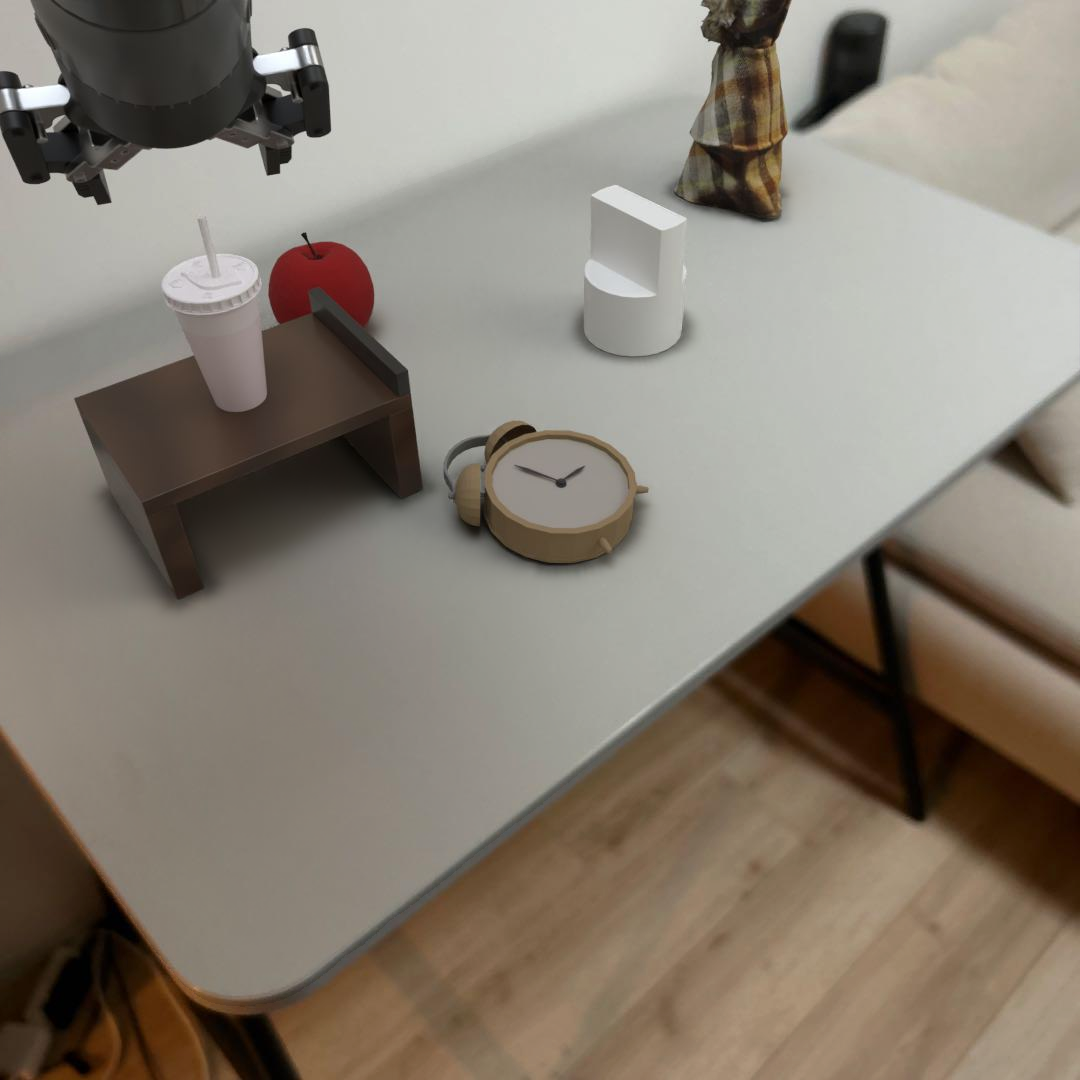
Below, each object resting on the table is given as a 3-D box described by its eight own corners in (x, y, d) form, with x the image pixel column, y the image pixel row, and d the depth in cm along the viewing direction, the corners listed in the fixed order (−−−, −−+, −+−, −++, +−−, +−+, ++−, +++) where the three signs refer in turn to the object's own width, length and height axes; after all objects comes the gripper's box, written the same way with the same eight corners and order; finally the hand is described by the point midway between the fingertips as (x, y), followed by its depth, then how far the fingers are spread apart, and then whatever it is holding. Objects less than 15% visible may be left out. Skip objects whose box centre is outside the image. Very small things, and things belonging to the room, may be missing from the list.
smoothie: (256, 431, 75) (209, 247, 65) (177, 413, 76) (120, 231, 67) (302, 379, 79) (264, 200, 69) (226, 363, 81) (179, 186, 71)
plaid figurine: (653, 215, 113) (728, -44, 97) (643, 161, 123) (709, -81, 107) (780, 240, 115) (875, -10, 99) (760, 185, 125) (843, -50, 109)
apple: (287, 371, 96) (265, 270, 89) (271, 319, 102) (249, 220, 95) (389, 350, 98) (375, 250, 91) (367, 300, 104) (353, 203, 97)
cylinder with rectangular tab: (563, 327, 100) (563, 205, 92) (633, 292, 104) (638, 173, 96) (631, 368, 95) (637, 244, 87) (702, 330, 99) (714, 208, 91)
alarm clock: (604, 556, 74) (413, 470, 77) (592, 601, 78) (410, 517, 81) (662, 460, 81) (486, 385, 84) (648, 505, 85) (480, 431, 88)
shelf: (177, 600, 76) (132, 478, 68) (111, 493, 84) (64, 375, 77) (423, 489, 84) (408, 369, 76) (340, 402, 93) (319, 286, 85)
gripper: (309, -117, 42) (303, 80, 57) (-89, -73, 38) (21, 123, 54) (359, 72, 42) (339, 217, 57) (-34, 132, 38) (60, 268, 54)
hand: (185, 171), depth 56 cm, fingers open, 8 cm apart
